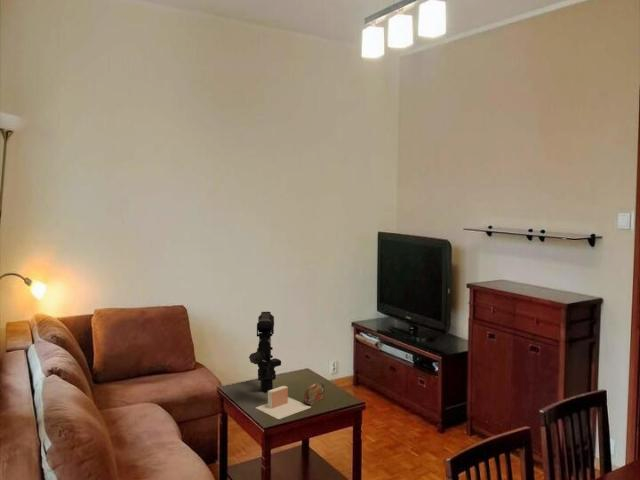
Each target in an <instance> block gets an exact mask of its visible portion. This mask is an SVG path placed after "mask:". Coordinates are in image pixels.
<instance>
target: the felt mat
mask: <svg viewBox="0 0 640 480" xmlns="http://www.w3.org/2000/svg"><path fill="white" fill-rule="evenodd" d="M311 408H312V406H310V405H309V404H306V403H303V402H301V401H298V400H296V399H294V398H292V397H289V396H288V403H286V404H284V405H281V406H278V407H275V408H272V409H271V408H269V407H268V403H265V404H261V405H259V406H256V407H255V409H256V410H259V411H261V412H263V413H265V414H267V415H269V416H271V417H273V418H275V419H277V420H281V419H283V418H286V417H289V416H293V415H294V414H297V413H299V412H300V413H301V412H303V411H306V410H308V409H311Z"/></svg>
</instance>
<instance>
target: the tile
mask: <svg viewBox="0 0 640 480" xmlns="http://www.w3.org/2000/svg"><path fill="white" fill-rule="evenodd" d="M288 397H289V388H288V386H286V385H282V386H281V385H280V386H279V387H276V388H273V389H272V390H269V391H268V392H267V404H268V407H269V408H271V409H272V408H275V407H278V406H281V405H284V404H286V403H288Z"/></svg>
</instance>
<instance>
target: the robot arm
mask: <svg viewBox="0 0 640 480" xmlns="http://www.w3.org/2000/svg"><path fill="white" fill-rule="evenodd" d="M274 327H275V316H274V315H272V314H271V312H270V311H260V315H259V316H258V322H257V323H256V337H258V344H257V346H258V347H257V349H256V351H255V352H252V353H250V355H249V356H248V358H249V362H250V363H251V364H253V365H257V368H258V369H257V381H259V382H260V383H259V384H260V385H259V386H260V388H258V389H257V390H258V391H259V392H262V393H264V394H268V391H269V390H272V389H274V388H273V387H274V383H273V381H275V380H276V372H277V371H276V370H275V368H277V367H281V366H282V360H281V359H279V358H277V357H275V358H274V357H273V355H272V351H273V349H274V348H273V347H272V339H271V338H272V337H273V334H275V333H274V331H275V329H274Z"/></svg>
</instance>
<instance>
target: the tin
mask: <svg viewBox="0 0 640 480" xmlns="http://www.w3.org/2000/svg"><path fill="white" fill-rule="evenodd" d="M324 394H325V386H324V384H323V382H315V383H313V384H312V385H310V386H309V387H307V388H306V389H305V391H304V402H305V405H309V406H310V405H311V406H312V405H313V404H314V403H316V402H319V400H322V399H323V397H324Z"/></svg>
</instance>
